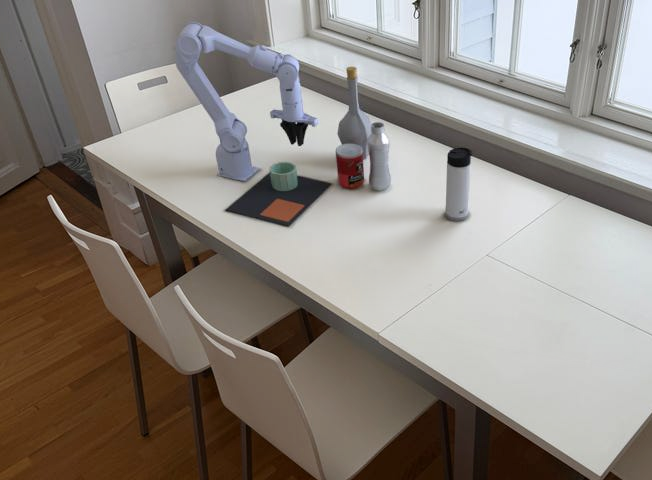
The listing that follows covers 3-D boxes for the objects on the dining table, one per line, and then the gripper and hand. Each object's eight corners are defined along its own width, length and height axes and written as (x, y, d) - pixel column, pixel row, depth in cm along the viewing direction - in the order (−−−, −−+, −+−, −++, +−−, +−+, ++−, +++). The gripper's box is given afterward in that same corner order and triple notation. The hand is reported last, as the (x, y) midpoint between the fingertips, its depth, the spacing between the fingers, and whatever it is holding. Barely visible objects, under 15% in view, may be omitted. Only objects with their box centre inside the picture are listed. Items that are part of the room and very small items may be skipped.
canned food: (352, 192, 193) (349, 159, 186) (332, 183, 197) (329, 150, 190) (370, 182, 198) (368, 149, 191) (350, 173, 201) (348, 140, 195)
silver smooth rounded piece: (393, 182, 198) (391, 120, 186) (389, 194, 193) (387, 131, 180) (371, 180, 198) (368, 118, 186) (367, 192, 193) (363, 129, 181)
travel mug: (466, 222, 182) (470, 157, 170) (443, 219, 183) (445, 154, 171) (470, 210, 187) (474, 146, 175) (448, 207, 188) (450, 143, 176)
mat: (225, 210, 184) (225, 209, 183) (272, 170, 201) (272, 169, 201) (288, 226, 178) (288, 225, 178) (331, 184, 196) (331, 183, 196)
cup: (267, 188, 193) (264, 171, 189) (281, 176, 198) (278, 159, 195) (289, 193, 191) (287, 176, 188) (302, 181, 196) (300, 164, 193)
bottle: (334, 157, 209) (326, 64, 191) (368, 150, 213) (363, 59, 195) (345, 173, 201) (338, 78, 183) (380, 167, 205) (376, 73, 187)
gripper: (321, 99, 188) (325, 142, 197) (277, 90, 192) (283, 133, 200) (308, 109, 183) (313, 153, 191) (263, 100, 187) (270, 143, 195)
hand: (297, 143), depth 196 cm, fingers closed
